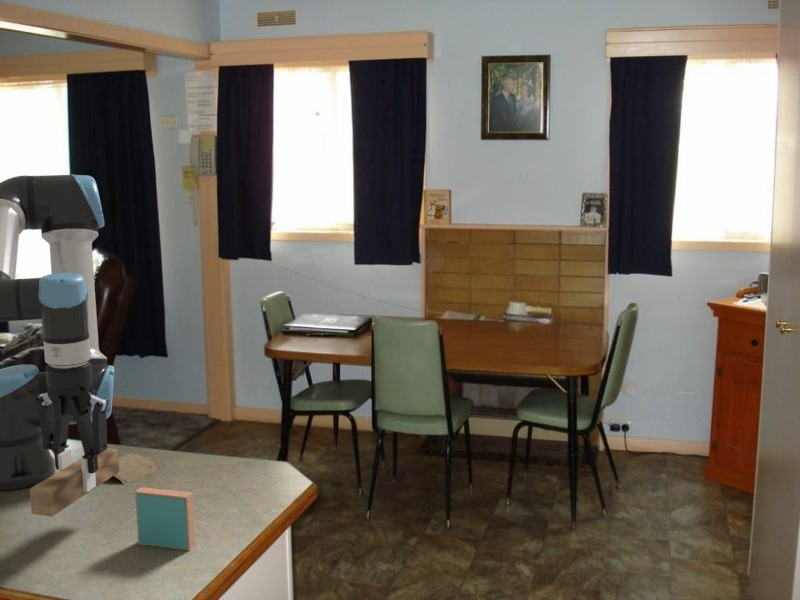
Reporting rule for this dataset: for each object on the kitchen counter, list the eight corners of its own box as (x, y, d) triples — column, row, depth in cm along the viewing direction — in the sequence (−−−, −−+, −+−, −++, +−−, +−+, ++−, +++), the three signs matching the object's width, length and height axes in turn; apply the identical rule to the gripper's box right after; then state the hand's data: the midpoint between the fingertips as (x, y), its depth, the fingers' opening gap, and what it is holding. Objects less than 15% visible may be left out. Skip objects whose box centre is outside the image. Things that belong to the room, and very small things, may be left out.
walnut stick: (100, 469, 163) (99, 447, 162) (119, 471, 162) (118, 449, 161) (31, 513, 144) (29, 489, 143) (52, 516, 143) (50, 491, 142)
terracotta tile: (144, 539, 153) (141, 487, 151) (195, 545, 150) (192, 492, 148) (137, 545, 151) (134, 492, 149) (189, 551, 148) (186, 497, 146)
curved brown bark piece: (163, 471, 184) (163, 460, 184) (128, 488, 176) (127, 476, 175) (116, 459, 191) (115, 448, 191) (79, 475, 183) (78, 463, 182)
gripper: (11, 364, 147) (23, 491, 152) (99, 372, 143) (108, 501, 148) (39, 353, 154) (50, 474, 159) (124, 360, 150) (132, 484, 155)
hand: (78, 487), depth 153 cm, fingers closed on walnut stick, 4 cm apart
